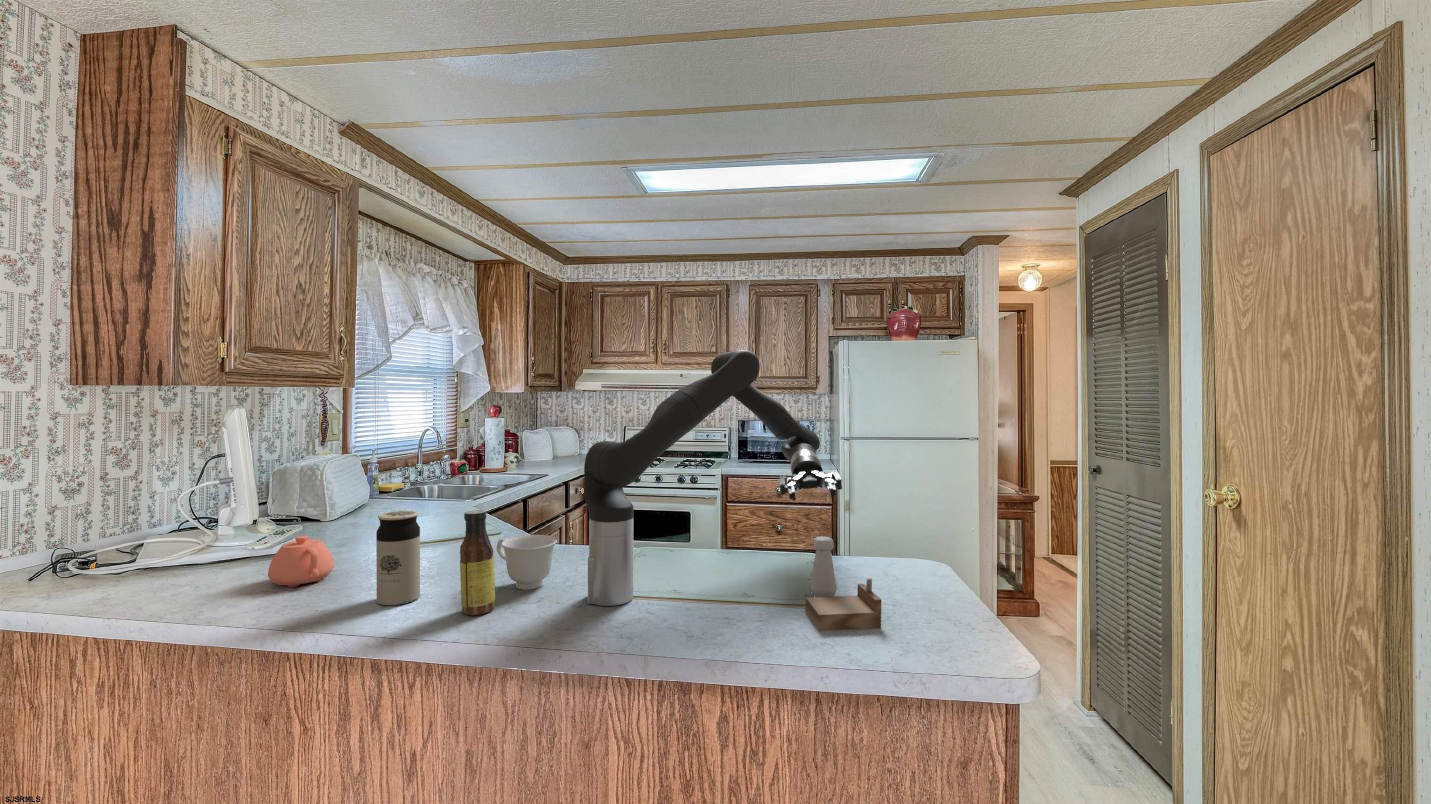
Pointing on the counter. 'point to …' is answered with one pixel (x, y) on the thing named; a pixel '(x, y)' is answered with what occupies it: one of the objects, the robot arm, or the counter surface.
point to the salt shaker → (823, 569)
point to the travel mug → (398, 558)
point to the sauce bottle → (476, 566)
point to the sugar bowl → (300, 562)
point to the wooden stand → (846, 610)
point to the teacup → (527, 558)
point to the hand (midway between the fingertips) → (813, 495)
